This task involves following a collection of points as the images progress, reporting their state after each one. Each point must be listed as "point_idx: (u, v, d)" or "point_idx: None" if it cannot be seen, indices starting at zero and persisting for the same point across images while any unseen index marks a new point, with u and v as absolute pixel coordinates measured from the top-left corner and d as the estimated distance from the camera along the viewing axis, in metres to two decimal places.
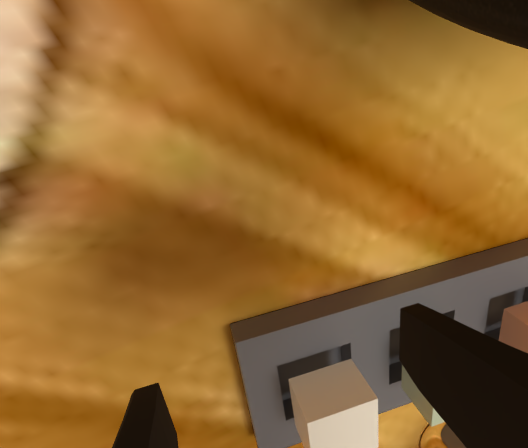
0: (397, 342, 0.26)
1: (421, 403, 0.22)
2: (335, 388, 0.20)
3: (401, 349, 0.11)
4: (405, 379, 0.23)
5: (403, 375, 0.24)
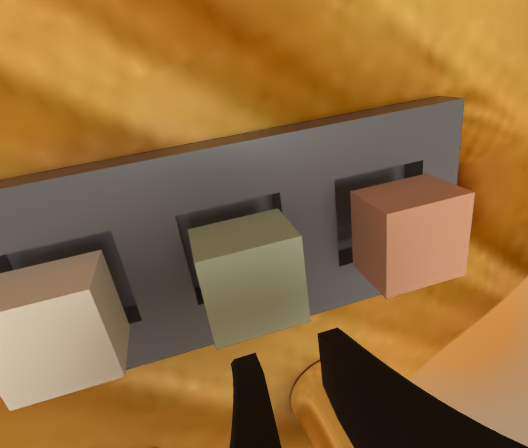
0: None
1: None
2: (43, 281, 0.13)
3: (323, 375, 0.11)
4: None
5: None
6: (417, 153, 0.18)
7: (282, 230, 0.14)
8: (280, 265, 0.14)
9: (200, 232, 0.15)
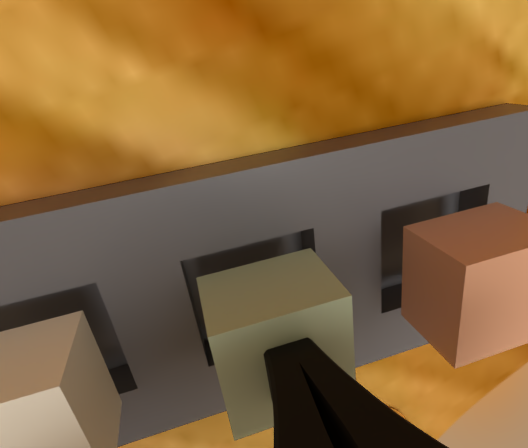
0: None
1: None
2: None
3: None
4: None
5: None
6: (483, 176, 0.14)
7: (323, 284, 0.11)
8: (322, 334, 0.10)
9: (213, 282, 0.12)
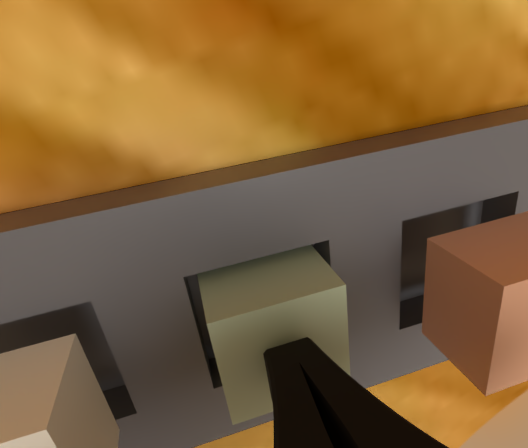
0: None
1: None
2: None
3: None
4: None
5: None
6: (512, 182, 0.13)
7: (318, 274, 0.11)
8: (317, 321, 0.11)
9: (212, 273, 0.12)
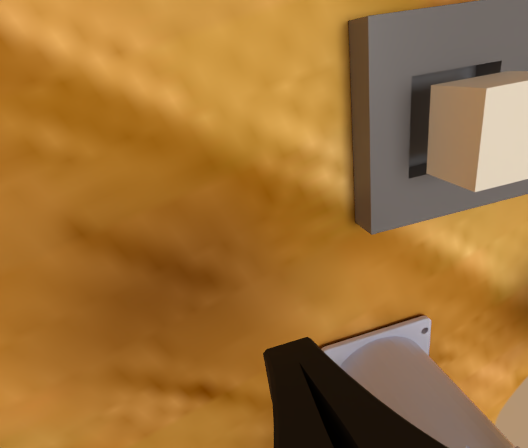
0: None
1: None
2: (504, 77, 0.15)
3: None
4: None
5: None
6: None
7: None
8: None
9: None
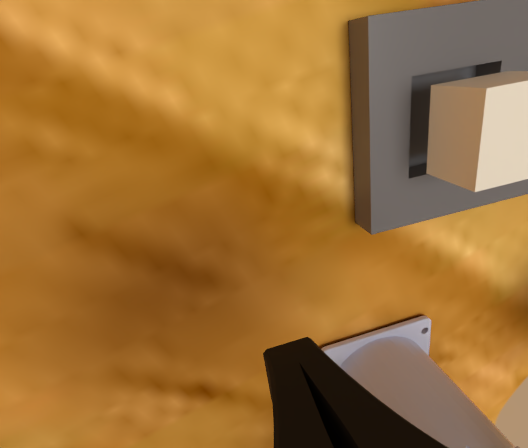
0: None
1: None
2: (504, 77, 0.15)
3: None
4: None
5: None
6: None
7: None
8: None
9: None
